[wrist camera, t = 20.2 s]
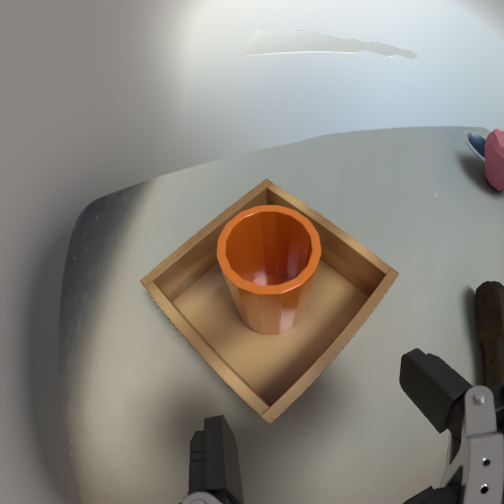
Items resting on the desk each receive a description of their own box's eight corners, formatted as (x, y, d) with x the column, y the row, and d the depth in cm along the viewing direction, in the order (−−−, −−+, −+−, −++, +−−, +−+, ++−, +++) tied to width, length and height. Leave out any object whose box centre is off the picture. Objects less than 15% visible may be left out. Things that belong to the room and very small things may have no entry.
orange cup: (224, 303, 23) (196, 247, 15) (270, 260, 24) (267, 190, 17) (272, 349, 20) (270, 316, 13) (319, 300, 22) (341, 242, 14)
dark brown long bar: (499, 454, 11) (527, 454, 7) (474, 467, 12) (503, 471, 8) (489, 289, 21) (513, 270, 17) (465, 292, 21) (490, 271, 17)
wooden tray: (163, 304, 24) (139, 280, 19) (268, 214, 28) (266, 178, 23) (271, 418, 18) (269, 424, 14) (378, 298, 22) (399, 273, 18)
